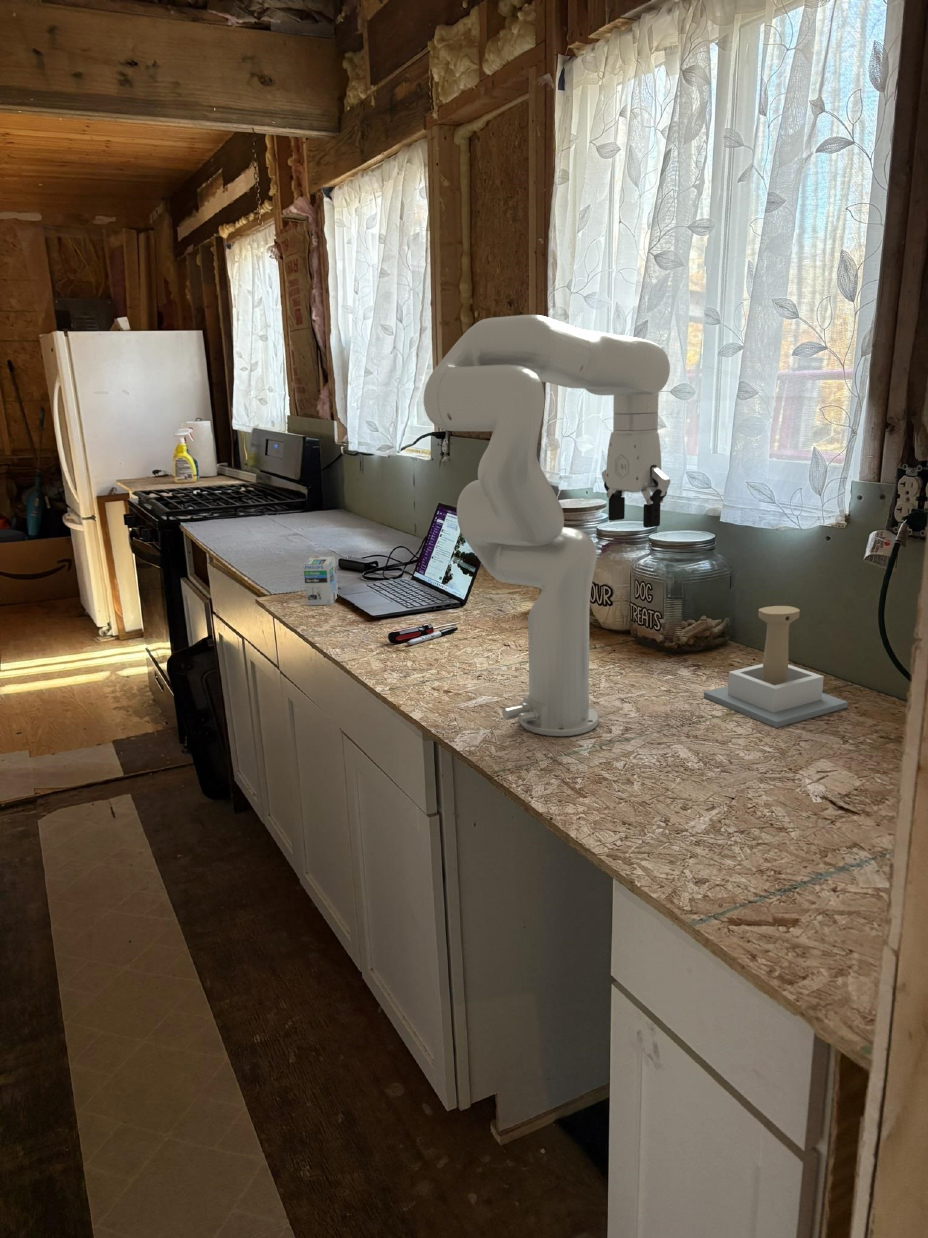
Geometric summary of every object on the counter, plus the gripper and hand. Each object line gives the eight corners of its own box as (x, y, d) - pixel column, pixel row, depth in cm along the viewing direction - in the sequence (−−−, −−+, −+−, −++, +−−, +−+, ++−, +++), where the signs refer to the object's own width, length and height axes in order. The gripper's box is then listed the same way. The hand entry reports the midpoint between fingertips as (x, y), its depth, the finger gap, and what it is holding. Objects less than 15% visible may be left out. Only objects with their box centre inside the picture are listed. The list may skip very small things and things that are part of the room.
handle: (799, 699, 144) (805, 611, 140) (764, 704, 142) (770, 615, 138) (781, 689, 148) (787, 604, 144) (748, 694, 147) (753, 608, 143)
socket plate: (776, 728, 135) (778, 697, 134) (703, 697, 149) (704, 669, 148) (847, 707, 142) (849, 678, 141) (771, 680, 156) (773, 653, 155)
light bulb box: (332, 605, 219) (329, 563, 217) (305, 606, 220) (302, 564, 217) (338, 595, 230) (336, 555, 227) (313, 596, 230) (310, 555, 227)
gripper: (587, 423, 155) (587, 519, 160) (651, 426, 140) (648, 532, 145) (621, 421, 158) (620, 515, 163) (686, 424, 144) (683, 527, 148)
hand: (633, 523), depth 154 cm, fingers open, 9 cm apart
